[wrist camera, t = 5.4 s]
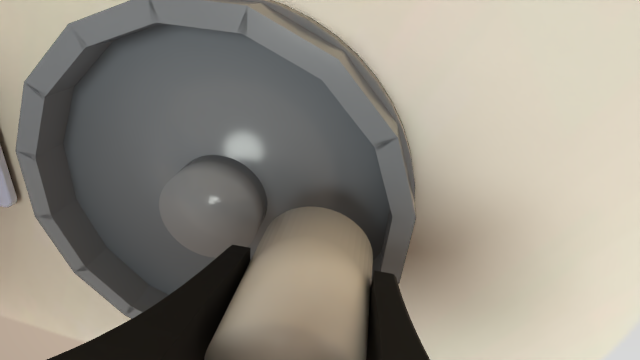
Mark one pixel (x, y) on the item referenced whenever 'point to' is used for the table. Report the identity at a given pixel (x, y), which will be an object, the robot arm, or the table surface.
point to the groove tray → (204, 141)
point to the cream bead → (301, 293)
